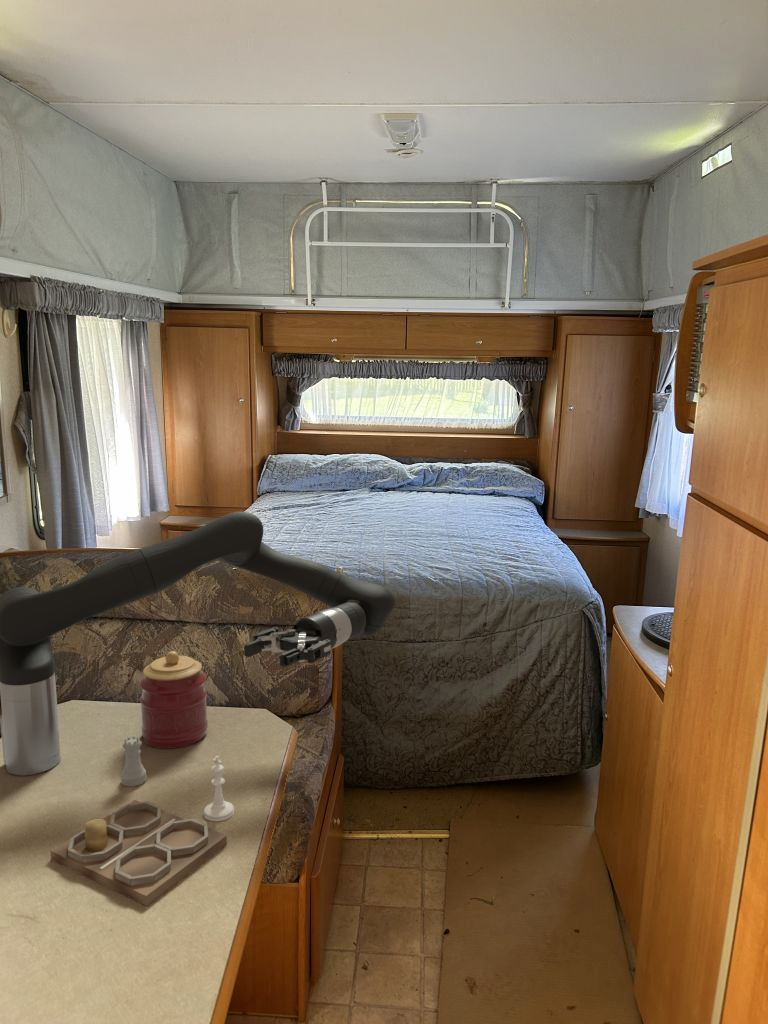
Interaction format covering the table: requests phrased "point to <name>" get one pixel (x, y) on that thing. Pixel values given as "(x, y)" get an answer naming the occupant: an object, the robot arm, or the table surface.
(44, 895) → the table surface
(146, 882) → the brown octagon slot tray
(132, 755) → the rook chess piece
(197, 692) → the canister
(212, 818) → the chess piece
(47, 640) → the robot arm
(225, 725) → the table surface
